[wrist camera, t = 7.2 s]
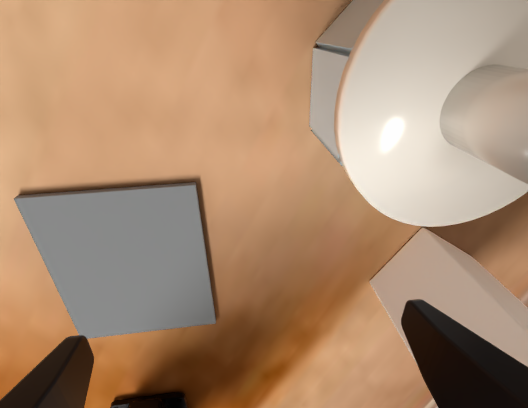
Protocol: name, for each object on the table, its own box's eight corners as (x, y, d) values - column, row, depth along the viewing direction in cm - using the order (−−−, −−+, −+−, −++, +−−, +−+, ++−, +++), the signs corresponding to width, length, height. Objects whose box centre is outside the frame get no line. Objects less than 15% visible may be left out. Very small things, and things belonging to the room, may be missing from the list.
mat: (215, 319, 25) (215, 323, 24) (83, 334, 24) (81, 339, 24) (195, 182, 19) (195, 185, 18) (17, 195, 18) (13, 198, 18)
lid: (530, 206, 16) (641, 270, 12) (324, 224, 15) (366, 303, 11) (655, -68, 11) (940, -128, 7) (349, -67, 10) (449, -137, 6)
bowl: (462, 164, 21) (527, 202, 16) (306, 176, 20) (331, 219, 15) (524, -33, 15) (643, -55, 11) (316, -30, 14) (358, -54, 10)
